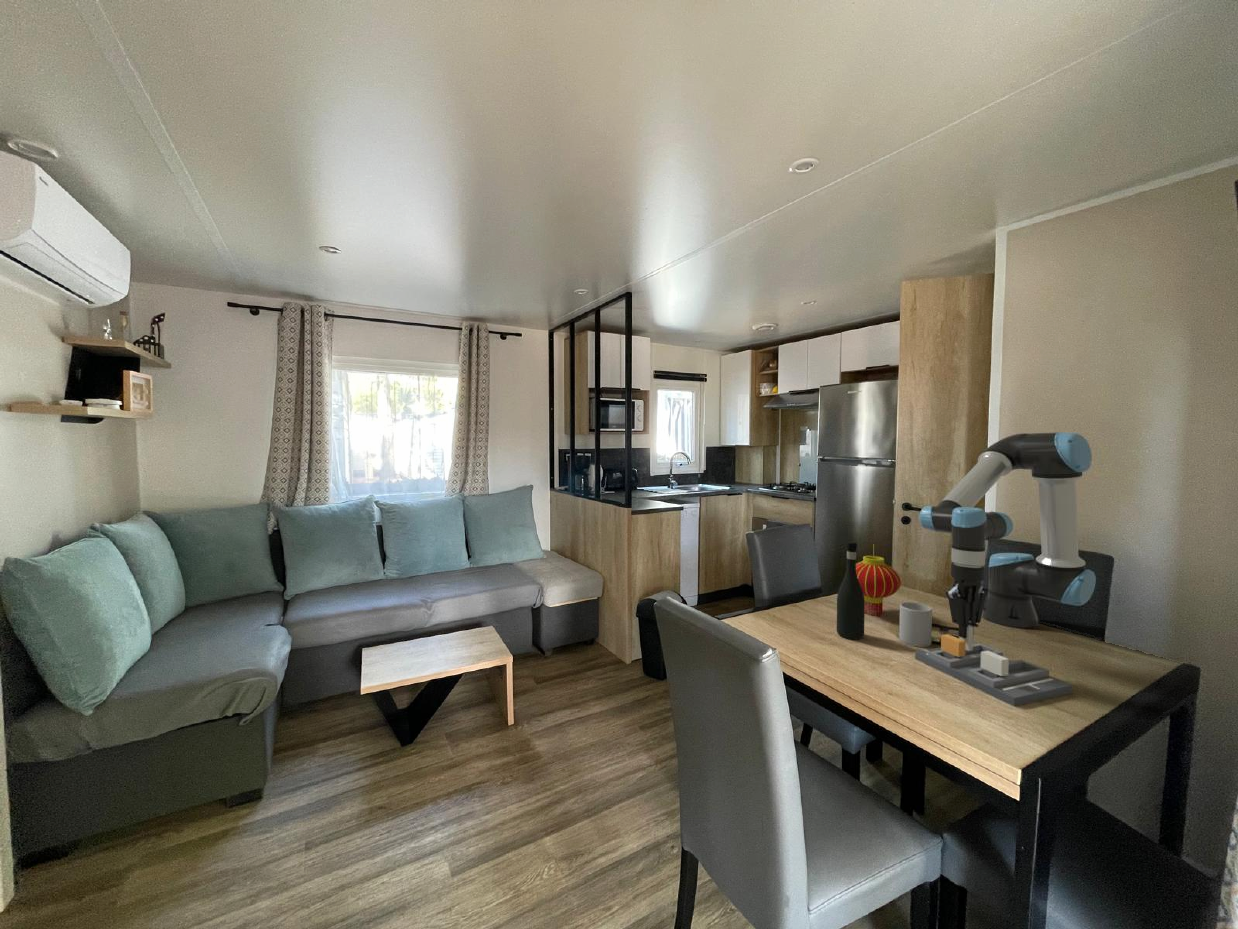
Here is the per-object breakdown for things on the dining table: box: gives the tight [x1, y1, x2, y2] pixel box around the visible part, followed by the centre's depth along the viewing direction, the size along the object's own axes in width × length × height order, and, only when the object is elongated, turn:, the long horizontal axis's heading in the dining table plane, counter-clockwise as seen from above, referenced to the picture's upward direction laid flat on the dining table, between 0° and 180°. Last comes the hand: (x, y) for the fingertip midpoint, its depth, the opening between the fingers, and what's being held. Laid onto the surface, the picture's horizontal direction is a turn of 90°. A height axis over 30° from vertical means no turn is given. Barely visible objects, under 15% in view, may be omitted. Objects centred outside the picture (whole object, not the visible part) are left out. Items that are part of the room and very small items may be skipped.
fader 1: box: [940, 633, 966, 659], centre depth 130 cm, size 3×5×6 cm, turn 17°
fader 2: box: [981, 651, 1010, 679], centre depth 120 cm, size 3×5×6 cm, turn 17°
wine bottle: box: [836, 541, 865, 640], centre depth 152 cm, size 8×8×30 cm
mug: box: [898, 601, 933, 648], centre depth 149 cm, size 12×8×11 cm
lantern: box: [856, 545, 902, 617], centre depth 172 cm, size 17×17×30 cm
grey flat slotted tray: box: [914, 642, 1073, 707], centre depth 126 cm, size 20×26×4 cm
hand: (965, 648), depth 132 cm, fingers closed
